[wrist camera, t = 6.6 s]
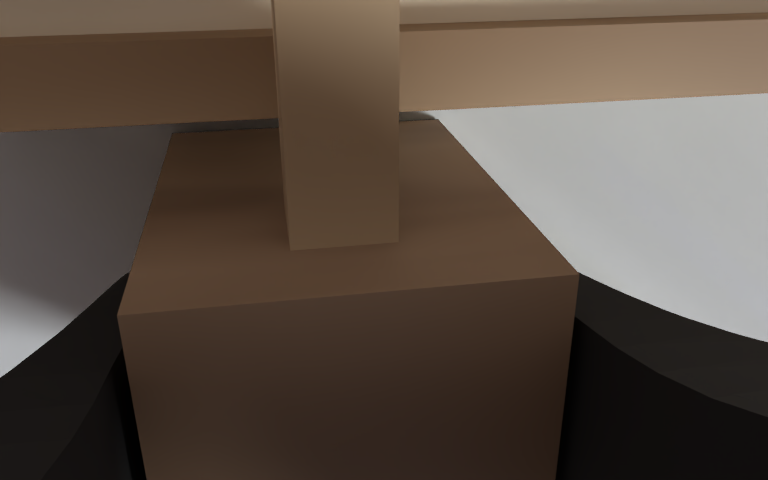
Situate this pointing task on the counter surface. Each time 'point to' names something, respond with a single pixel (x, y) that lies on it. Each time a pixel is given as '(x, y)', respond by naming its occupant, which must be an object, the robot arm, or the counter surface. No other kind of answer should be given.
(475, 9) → the board
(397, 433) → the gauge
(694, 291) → the counter surface
